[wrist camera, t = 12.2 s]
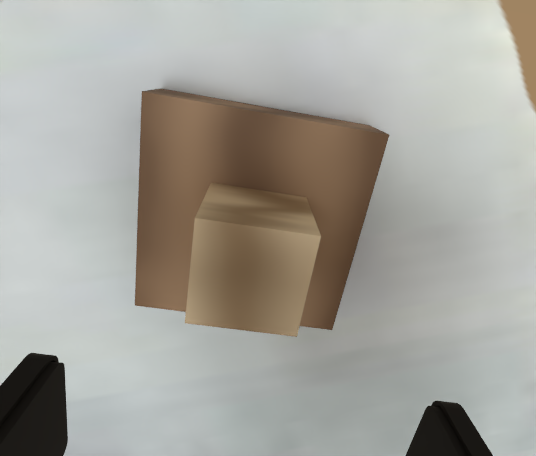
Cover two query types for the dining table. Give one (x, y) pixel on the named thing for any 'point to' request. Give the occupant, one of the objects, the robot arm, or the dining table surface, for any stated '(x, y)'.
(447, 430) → the robot arm
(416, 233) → the dining table surface
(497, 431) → the dining table surface
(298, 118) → the walnut block
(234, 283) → the maple cube
